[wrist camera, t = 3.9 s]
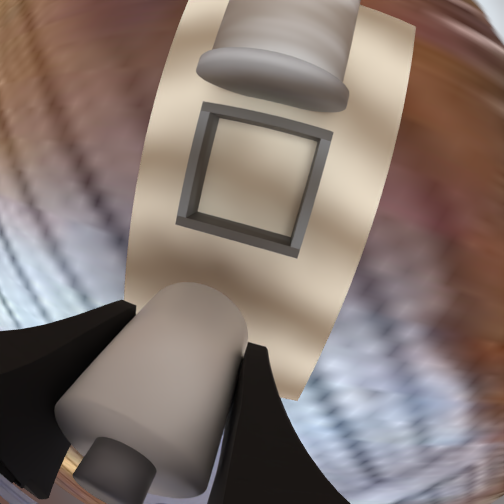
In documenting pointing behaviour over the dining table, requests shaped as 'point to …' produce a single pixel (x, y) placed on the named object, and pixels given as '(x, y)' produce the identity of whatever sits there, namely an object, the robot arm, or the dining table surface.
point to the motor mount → (269, 164)
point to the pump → (157, 398)
